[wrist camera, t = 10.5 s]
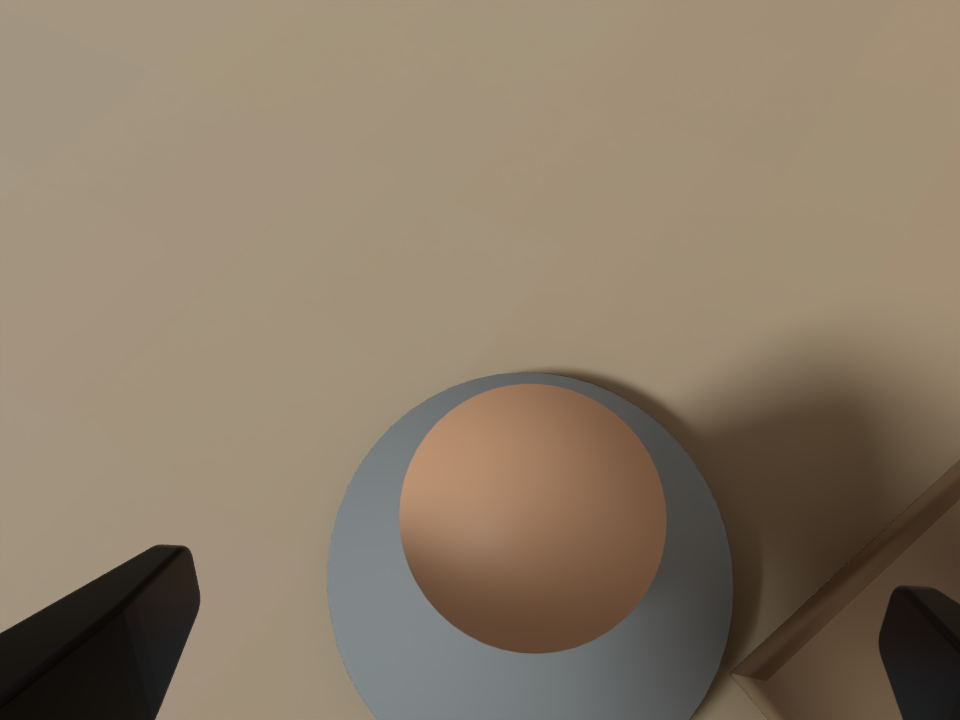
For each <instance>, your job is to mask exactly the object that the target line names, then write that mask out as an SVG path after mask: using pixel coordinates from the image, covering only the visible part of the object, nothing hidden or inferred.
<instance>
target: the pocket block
mask: <svg viewBox="0 0 960 720" xmlns="http://www.w3.org/2000/svg"><path fill="white" fill-rule="evenodd" d="M900 585H912V586H928V587H933V588H936V589H937V590H939V591H941V592H942V593H944V594H945V595H947V596H949V597H950V598H952V599H953V600H955V601H956V602H958V603H959V604H960V460H959V461H958V462H957V463H956V464H955V465H954V466H953V467H952V468H951V469H950V470H948V471H947V472H946V473H945V474H944V475H943V476H942V477H941V478H940V479H939V480H938V481H937V482H936V483H934V484H933V485H932V486H931V487H930V488H929V489H928V490H927V491H926V492H925V493H924V494H923V495H921V496H920V497H919V498H918V499H917V500H916V501H915V502H914V503H913V504H912V505H911V506H910V507H909V508H907V509H906V510H905V511H904V512H903V513H902V514H901V515H900V516H899V517H898V518H897V519H896V520H894V521H893V522H892V523H891V524H890V525H889V526H888V527H887V528H886V529H885V530H884V531H883V532H882V533H880V534H879V535H878V536H877V537H876V538H875V539H874V540H873V541H872V542H871V543H870V544H869V545H867V546H866V547H865V548H864V549H863V550H862V551H861V552H860V553H859V554H858V555H857V556H856V557H855V558H853V559H852V560H851V561H850V562H849V563H848V564H847V565H846V566H845V567H844V568H843V569H842V570H840V571H839V572H838V573H837V574H836V575H835V576H834V577H833V578H832V579H831V580H830V581H829V582H828V583H826V584H825V585H824V586H823V587H822V588H821V589H820V590H819V591H818V592H817V593H816V594H815V595H813V596H812V597H811V598H810V599H809V600H808V601H807V602H806V603H805V604H804V605H803V606H802V607H801V608H799V609H798V610H797V611H796V612H795V613H794V614H793V615H792V616H791V617H790V618H789V619H788V620H786V621H785V622H784V623H783V624H782V625H781V626H780V627H779V628H778V629H777V630H776V631H775V632H774V633H772V634H771V635H770V636H769V637H768V638H767V639H766V640H765V641H764V642H763V643H762V644H761V645H759V646H758V647H757V648H756V649H755V650H754V651H753V652H752V653H751V654H750V655H749V656H748V657H747V658H745V659H744V660H743V661H742V662H741V663H740V664H739V665H738V666H737V667H736V668H735V669H734V670H732V671H731V672H730V674H731V676H732V677H733V678H734V679H735V680H736V682H737V683H738V684H739V685H740V686H741V688H742V689H743V690H744V691H745V692H746V694H747V695H748V696H749V697H750V698H751V700H752V701H753V702H754V703H755V704H756V706H757V707H758V708H759V709H760V710H761V712H762V713H763V714H764V715H765V716H766V717H767V719H768V720H903V719H902V716H901V714H900V711H899V708H898V705H897V702H896V699H895V696H894V693H893V691H892V688H891V685H890V682H889V679H888V676H887V673H886V670H885V668H884V665H883V662H882V659H881V656H880V652H879V644H878V639H879V632H880V629H881V626H882V622H883V619H884V616H885V613H886V609H887V606H888V603H889V599H890V596H891V594H892V591H893V590H894V589H895V588H896V587H897V586H900Z"/></svg>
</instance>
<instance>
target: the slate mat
mask: <svg viewBox="0 0 960 720" xmlns="http://www.w3.org/2000/svg"><path fill="white" fill-rule="evenodd" d="M517 384H544V385H552V386H558V387H562V388H565V389H569V390H573V391H575V392H578V393H580V394H583V395H585V396H588V397H590V398H591V399H593V400H595V401H597V402H599V403H600V404H602V405H604V406H605V407H606V408H608V409H609V410H611V411H612V412H613V413H615V414H616V415H617V416H618V417H619V418H620V419H621V420H623V421H624V422H625V423H626V424H627V425H628V426H629V427H630V428H631V430H632V431H633V432H634V433H635V434H636V436H637V437H638V438H639V439H640V441H641V442H642V444H643V445H644V447H645V448H646V450H647V452H648V453H649V455H650V457H651V459H652V461H653V463H654V465H655V467H656V470H657V472H658V475H659V478H660V482H661V485H662V488H663V493H664V499H665V504H666V520H667V524H666V538H665V544H664V549H663V554H662V558H661V561H660V564H659V567H658V569H657V572H656V575H655V577H654V579H653V581H652V583H651V585H650V587H649V589H648V591H647V592H646V593H645V595H644V596H643V598H642V599H641V601H640V602H639V603H638V605H637V606H636V607H635V608H634V609H633V610H632V611H631V613H630V614H629V615H628V616H627V617H626V618H625V619H624V620H623V621H621V622H620V623H619V624H618V625H616V626H615V627H614V628H613V629H611V630H610V631H609V632H607V633H605V634H604V635H602V636H600V637H598V638H597V639H595V640H593V641H591V642H588V643H586V644H583V645H581V646H578V647H576V648H572V649H568V650H564V651H560V652H553V653H543V654H530V653H517V652H512V651H506V650H502V649H499V648H496V647H493V646H490V645H487V644H484V643H482V642H480V641H478V640H476V639H474V638H472V637H470V636H468V635H466V634H465V633H463V632H462V631H460V630H459V629H457V628H456V627H454V626H453V625H452V624H450V623H449V622H448V621H447V620H446V619H445V618H444V617H443V616H442V615H441V614H439V613H438V612H437V610H436V609H435V608H434V607H433V606H432V605H431V603H430V602H429V601H428V600H427V599H426V597H425V596H424V594H423V592H422V591H421V589H420V588H419V586H418V585H417V583H416V581H415V579H414V577H413V575H412V573H411V570H410V568H409V566H408V563H407V560H406V557H405V553H404V550H403V546H402V540H401V535H400V522H399V510H400V497H401V492H402V487H403V482H404V479H405V476H406V473H407V470H408V467H409V464H410V462H411V460H412V458H413V456H414V454H415V452H416V450H417V448H418V447H419V445H420V444H421V442H422V441H423V439H424V438H425V436H426V435H427V434H428V433H429V431H430V430H431V429H432V428H433V427H434V426H435V424H436V423H437V422H438V421H439V420H441V419H442V418H443V417H444V416H445V415H446V414H447V413H448V412H449V411H451V410H452V409H454V408H455V407H457V406H458V405H460V404H461V403H462V402H464V401H466V400H468V399H470V398H472V397H474V396H476V395H478V394H481V393H483V392H486V391H489V390H491V389H495V388H499V387H504V386H508V385H517ZM733 590H734V585H733V571H732V558H731V553H730V548H729V543H728V538H727V533H726V530H725V527H724V524H723V521H722V518H721V515H720V512H719V509H718V506H717V504H716V502H715V499H714V497H713V495H712V493H711V491H710V489H709V487H708V485H707V483H706V481H705V479H704V478H703V476H702V474H701V473H700V471H699V470H698V468H697V467H696V465H695V463H694V462H693V460H692V459H691V458H690V456H689V455H688V454H687V453H686V451H685V450H684V449H683V448H682V447H681V445H680V444H679V443H678V442H677V440H676V439H675V438H674V437H673V436H672V435H671V434H670V433H669V432H668V431H666V430H665V429H664V428H663V427H662V426H661V425H660V424H659V423H658V422H657V421H656V420H655V419H653V418H652V417H651V416H649V415H648V414H647V413H645V412H644V411H643V410H641V409H640V408H639V407H637V406H636V405H634V404H632V403H630V402H629V401H627V400H625V399H624V398H622V397H620V396H618V395H617V394H615V393H612V392H610V391H608V390H605V389H603V388H601V387H598V386H596V385H594V384H591V383H587V382H584V381H580V380H577V379H574V378H570V377H565V376H559V375H552V374H546V373H522V372H521V373H509V374H497V375H493V376H488V377H483V378H479V379H474V380H471V381H468V382H465V383H462V384H459V385H457V386H454V387H451V388H449V389H447V390H445V391H443V392H441V393H439V394H437V395H435V396H433V397H431V398H429V399H427V400H426V401H424V402H423V403H421V404H420V405H418V406H417V407H415V408H414V409H412V410H411V411H409V412H408V413H407V414H406V415H404V416H403V417H402V418H401V419H400V420H399V421H397V422H396V423H395V424H394V425H393V426H391V427H390V429H389V430H388V431H387V432H386V433H385V434H384V435H383V436H382V437H381V438H380V439H379V440H378V441H377V443H376V444H375V445H374V446H373V448H372V449H371V450H370V452H369V453H368V454H367V456H366V457H365V459H364V460H363V461H362V463H361V464H360V466H359V468H358V469H357V471H356V473H355V475H354V477H353V478H352V480H351V482H350V484H349V486H348V488H347V490H346V493H345V495H344V498H343V500H342V503H341V505H340V508H339V510H338V513H337V517H336V521H335V525H334V528H333V532H332V536H331V543H330V550H329V557H328V577H327V592H328V601H329V610H330V618H331V623H332V627H333V631H334V635H335V639H336V643H337V647H338V649H339V652H340V654H341V657H342V660H343V662H344V665H345V667H346V670H347V673H348V674H349V676H350V678H351V680H352V682H353V684H354V686H355V687H356V689H357V691H358V693H359V695H360V697H361V698H362V700H363V701H364V702H365V704H366V705H367V706H368V708H369V709H370V711H371V712H372V713H373V715H374V716H375V717H376V719H377V720H689V719H690V718H691V716H692V715H693V713H694V712H695V710H696V709H697V708H698V706H699V705H700V703H701V702H702V700H703V699H704V697H705V695H706V693H707V691H708V689H709V687H710V685H711V683H712V681H713V679H714V677H715V675H716V673H717V671H718V668H719V665H720V662H721V659H722V656H723V653H724V650H725V647H726V644H727V639H728V634H729V629H730V623H731V618H732V607H733Z"/></svg>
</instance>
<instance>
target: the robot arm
mask: <svg viewBox="0 0 960 720" xmlns="http://www.w3.org/2000/svg"><path fill="white" fill-rule="evenodd" d="M199 606H200V590H199V586H198V581H197V576H196V571H195V566H194V561H193V557H192V553H191V551H190V550H189V549H188V548H187V547H185V546H181V545H163V544H162V545H156V546H153V547H151V548H150V549H148V550H146V551H144V552H142V553H141V554H139V555H137V556H135V557H134V558H132V559H130V560H128V561H127V562H125V563H123V564H121V565H120V566H118V567H116V568H114V569H113V570H111V571H109V572H107V573H106V574H104V575H102V576H100V577H99V578H97V579H95V580H93V581H92V582H90V583H88V584H86V585H84V586H83V587H81V588H79V589H77V590H76V591H74V592H72V593H70V594H69V595H67V596H65V597H63V598H62V599H60V600H58V601H56V602H55V603H53V604H51V605H49V606H48V607H46V608H44V609H42V610H41V611H39V612H37V613H35V614H34V615H32V616H30V617H28V618H26V619H25V620H23V621H21V622H19V623H18V624H16V625H14V626H12V627H11V628H9V629H7V630H5V631H4V632H2V633H0V720H155V719H156V716H157V714H158V712H159V709H160V707H161V705H162V702H163V700H164V697H165V695H166V692H167V689H168V687H169V684H170V682H171V679H172V677H173V674H174V672H175V669H176V667H177V664H178V662H179V659H180V657H181V654H182V652H183V649H184V646H185V644H186V641H187V639H188V636H189V634H190V631H191V629H192V626H193V624H194V621H195V619H196V616H197V613H198V610H199ZM878 644H879V652H880V656H881V659H882V662H883V665H884V668H885V670H886V673H887V676H888V679H889V682H890V685H891V688H892V691H893V693H894V696H895V699H896V702H897V705H898V708H899V711H900V714H901V716H902V719H903V720H960V604H959V603H958V602H956V601H955V600H953V599H952V598H950V597H949V596H947V595H945V594H944V593H942V592H941V591H939V590H937V589H936V588H933V587H928V586H912V585H900V586H897V587H896V588H895V589H894V590H893V591H892V594H891V596H890V599H889V603H888V606H887V609H886V613H885V616H884V619H883V622H882V626H881V629H880V632H879V639H878Z"/></svg>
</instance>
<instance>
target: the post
mask: <svg viewBox="0 0 960 720" xmlns="http://www.w3.org/2000/svg"><path fill="white" fill-rule="evenodd" d="M399 522H400V535H401V540H402V546H403V550H404V553H405V557H406V560H407V563H408V566H409V568H410V570H411V573H412V575H413V577H414V579H415V581H416V583H417V585H418V586H419V588H420V589H421V591H422V592H423V594H424V596H425V597H426V599H427V600H428V601H429V602H430V603H431V605H432V606H433V607H434V608H435V609H436V610H437V612H438V613H439V614H441V615H442V616H443V617H444V618H445V619H446V620H447V621H448V622H449V623H450V624H452V625H453V626H454V627H456V628H457V629H459V630H460V631H462V632H463V633H465V634H466V635H468V636H470V637H472V638H474V639H476V640H478V641H480V642H482V643H484V644H487V645H490V646H493V647H496V648H499V649H502V650H506V651H512V652H517V653H530V654H543V653H553V652H560V651H564V650H568V649H572V648H576V647H578V646H581V645H583V644H586V643H588V642H591V641H593V640H595V639H597V638H598V637H600V636H602V635H604V634H605V633H607V632H609V631H610V630H611V629H613V628H614V627H615V626H616V625H618V624H619V623H620V622H621V621H623V620H624V619H625V618H626V617H627V616H628V615H629V614H630V613H631V611H632V610H633V609H634V608H635V607H636V606H637V605H638V603H639V602H640V601H641V599H642V598H643V596H644V595H645V593H646V592H647V591H648V589H649V587H650V585H651V583H652V581H653V579H654V577H655V575H656V572H657V569H658V567H659V564H660V561H661V558H662V554H663V549H664V544H665V538H666V524H667V520H666V504H665V499H664V493H663V488H662V485H661V482H660V478H659V475H658V472H657V470H656V467H655V465H654V463H653V461H652V459H651V457H650V455H649V453H648V452H647V450H646V448H645V447H644V445H643V444H642V442H641V441H640V439H639V438H638V437H637V436H636V434H635V433H634V432H633V431H632V430H631V428H630V427H629V426H628V425H627V424H626V423H625V422H624V421H623V420H621V419H620V418H619V417H618V416H617V415H616V414H615V413H613V412H612V411H611V410H609V409H608V408H606V407H605V406H604V405H602V404H600V403H599V402H597V401H595V400H593V399H591V398H590V397H588V396H585V395H583V394H580V393H578V392H575V391H573V390H569V389H565V388H562V387H558V386H552V385H544V384H517V385H508V386H504V387H499V388H495V389H491V390H489V391H486V392H483V393H481V394H478V395H476V396H474V397H472V398H470V399H468V400H466V401H464V402H462V403H461V404H460V405H458V406H457V407H455V408H454V409H452V410H451V411H449V412H448V413H447V414H446V415H445V416H444V417H443V418H442V419H441V420H439V421H438V422H437V423H436V424H435V426H434V427H433V428H432V429H431V430H430V431H429V433H428V434H427V435H426V436H425V438H424V439H423V441H422V442H421V444H420V445H419V447H418V448H417V450H416V452H415V454H414V456H413V458H412V460H411V462H410V464H409V467H408V470H407V473H406V476H405V479H404V482H403V487H402V492H401V497H400V510H399Z"/></svg>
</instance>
